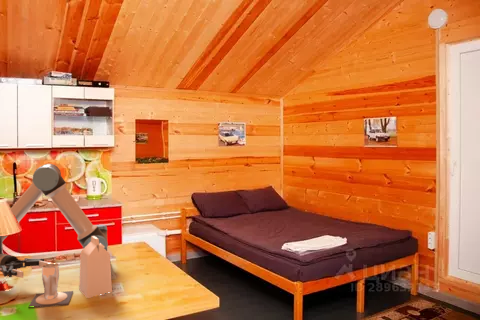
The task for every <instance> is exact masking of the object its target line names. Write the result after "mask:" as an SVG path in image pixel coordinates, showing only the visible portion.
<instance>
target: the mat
mask: <svg viewBox="0 0 480 320" xmlns="http://www.w3.org/2000/svg"><path fill="white" fill-rule="evenodd" d="M57 292H58V298H57V299H55V300H50V301H47V300H44V292H41V293H35V294H34V296H33V298H32V299H31V301H30V303H29V305H28V306H34V307H36V308H46V307H47V308H48V307H63V306H69V304H70V302H71V299H72V297H73V294H74V290H69V291H68V290H67V291H57Z"/></svg>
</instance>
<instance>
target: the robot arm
mask: <svg viewBox="0 0 480 320" xmlns="http://www.w3.org/2000/svg"><path fill="white" fill-rule="evenodd" d="M42 195H44V196H45V197H48V198H50V199H51V200H52V202H53V204H55V205H56V208H57V209H58V210H59V211H60V212H61V215H63V216H64V218H65V219H66V220H67V223H69V224H70V226H71V227H72V228H73V229H74V231H75V232H76V235H77V241H78V242H79V244H80V245H81V246H82V250H83V249H84V248H85V247H86V246H87V245H88V244H89V243H90V242H91V236H95V237H97V238H98V239H99V244H100V243H101V244H102V245H103V246H105V247H104V249H105V250H106V251H108V246H109V243H108V242H109V241H108V227H107V225H105V224H93V223H92V222H91V220H90V218H88V216H87V215H86V214H85V212H84V211H83V210H82V208H81V207H80V205H79V203H77V201H76V199H74V197H73V195H72V194H71V193H70V191H69V190H68V188H67V182H66V180H65V179H64V178H63V176H62V172H61V170H60V168H59V167H58V165H56V164H52V163H45V164H42V165H41V166H39V167H38V168H36V169H35V171H34V172H33V175H32V180H31V184H30V185H29V186H28V188H27V189H26V190H25V191H24V192H23V193H22V195H21V196H20V197H19V198H18V199H17V200H16V202H15V203H14V204H13V205H12V206H11V208H10V209H11V210H12V212H13V214H14V215H15V217H16V219H17V221H18V224H19V222H21V220H22V219H23V218H24V217H25V216H26V214H27V213H28V212H29V211H30V210H31V209H32V207H33V206H34V205H35V204H36V203H37V202H38V200H39V199H40V198H41V197H42ZM7 237H8V236H0V273H1V272H2V276H4V277H5V278H6V277H8V278H12V277H17V278H21V279H23V278H24V270H20V269H24V268H27V267H40V268H42V266H43V265H44V264H48V263H50V262H48V261H45V258H30V257H29V258H28V257H26V258H24V259H19V258H18V257H17V256H15V255H12V254H7V253H4V251H3V250H4V249H3V242H4V240H5V239H7ZM110 264H112V263H111V260H110Z"/></svg>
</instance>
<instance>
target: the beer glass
mask: <svg viewBox="0 0 480 320" xmlns="http://www.w3.org/2000/svg"><path fill="white" fill-rule="evenodd" d="M59 267H60V266H59V264H58V263H56V262H49V263H48V264H44V265H43V266H42V267H41V281H42V285H43V290H44V292H43V293H44V300H47V301H50V300H55V299H57V298H58V292H59V291H58V285H59V279H60V269H59Z"/></svg>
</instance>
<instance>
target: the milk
mask: <svg viewBox="0 0 480 320" xmlns="http://www.w3.org/2000/svg"><path fill="white" fill-rule="evenodd" d="M104 247H105V246H103V245H102V244H101V243H100V244H99V239H98V238H97V237H95V236H91V242H90V243H89V244H88V245H87V246H86V247H85V248H84V249H83V248H82V250H81V252H80V259H79V260H80V261H79V285H78V288H79V290H78V291H80V292H81V293H82V294H83V295H84V296H85V298H86V299H89V298H94V297H93V296H95V297H97V296H96V295H99V296H101V295H100V294H103V295H105V294H104V293H108V292H112V293H113V288H112V286H113V285H112V270H111V269H112V267H111V264H112V263H111V264H110V261H111V254H110V252H109V251H108V250H107V251H106V250H105V249H104ZM108 294H109V293H108Z"/></svg>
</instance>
